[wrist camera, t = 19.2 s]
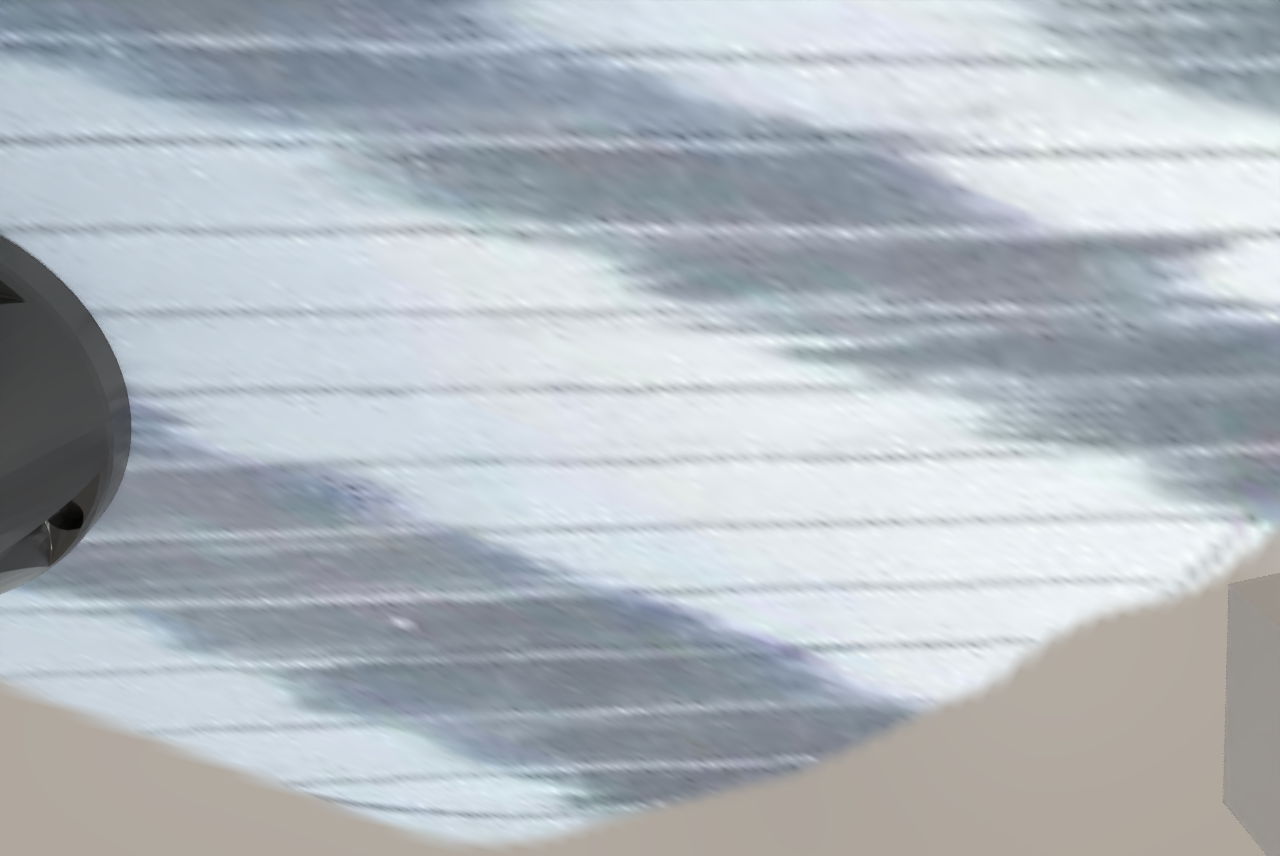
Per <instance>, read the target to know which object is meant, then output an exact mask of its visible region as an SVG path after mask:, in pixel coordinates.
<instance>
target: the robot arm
mask: <svg viewBox="0 0 1280 856" xmlns="http://www.w3.org/2000/svg"><path fill="white" fill-rule="evenodd" d="M130 443H131V414H130V406H129V399H128V395H127V390H126V386H125V382H124V379H123V375H122V373H121V370H120V367H119V364H118V362H117V359H116V357H115V355H114V353H113V351H112V349H111V346H110V345H109V343H108V341H107V339H106V337H105V335H104V334H103V332H102V330H101V329H100V327H99V326H98V324H97V323H96V321H95V320H94V318H93V317H92V316H91V314H90V313H89V312H88V310H87V309H86V307H85V306H84V305H83V304H82V303H81V301H80V300H79V299H78V298H77V297H76V296H75V294H74V293H73V292H72V291H71V290H70V289H69V288H68V287H67V286H66V285H65V284H64V283H63V282H62V281H61V280H60V279H59V278H58V277H57V276H55V275H54V274H53V273H52V272H51V271H50V270H49V269H47V268H46V267H45V266H44V265H43V264H41V263H40V262H39V261H38V260H36V259H35V258H33V257H32V256H31V255H29V254H28V253H26V252H25V251H24V250H22V249H21V248H19V247H17V246H16V245H14V244H13V243H11V242H9V241H8V240H6V239H4V238H2V237H0V594H2V593H5V592H7V591H9V590H12V589H14V588H17V587H19V586H21V585H23V584H25V583H27V582H29V581H31V580H33V579H34V578H36V577H38V576H39V575H41V574H43V573H44V572H45V571H47V570H48V569H50V568H51V567H52V566H54V565H55V564H56V563H58V562H59V561H60V560H62V559H63V558H64V557H65V556H66V555H67V554H68V553H70V552H71V551H72V550H73V549H74V547H75V546H76V545H77V544H78V543H79V542H80V541H81V540H82V539H83V537H84V536H85V535H86V534H87V533H88V531H89V530H90V529H91V528H92V527H93V525H94V524H95V523H96V522H97V521H98V519H99V518H100V517H101V516H102V514H103V513H104V512H105V510H106V509H107V507H108V506H109V504H110V503H111V501H112V500H113V498H114V496H115V494H116V492H117V490H118V488H119V486H120V483H121V481H122V478H123V475H124V472H125V469H126V465H127V461H128V457H129V450H130ZM1228 588H1229V589H1228V626H1227V665H1226V668H1227V669H1226V706H1225V744H1224V745H1225V746H1224V783H1223V803H1224V804H1225V805H1226V807H1227V808H1228V809H1229V810H1230V811H1231V813H1232V814H1233V815H1234V816H1235V817H1236V818H1237V820H1238V821H1239V822H1240V824H1241V825H1242V826H1243V827H1244V828H1245V829H1246V831H1247V832H1248V833H1249V834H1250V835H1251V837H1252V838H1253V839H1254V840H1255V842H1256V843H1257V844H1258V845H1259V846H1260V848H1261V849H1262V850H1263V851H1264V852H1265V854H1266V855H1267V856H1280V573H1278V574H1273V575H1268V576H1264V577H1260V578H1255V579H1250V580H1245V581H1240V582H1236V583H1231V584H1229V587H1228Z"/></svg>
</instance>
